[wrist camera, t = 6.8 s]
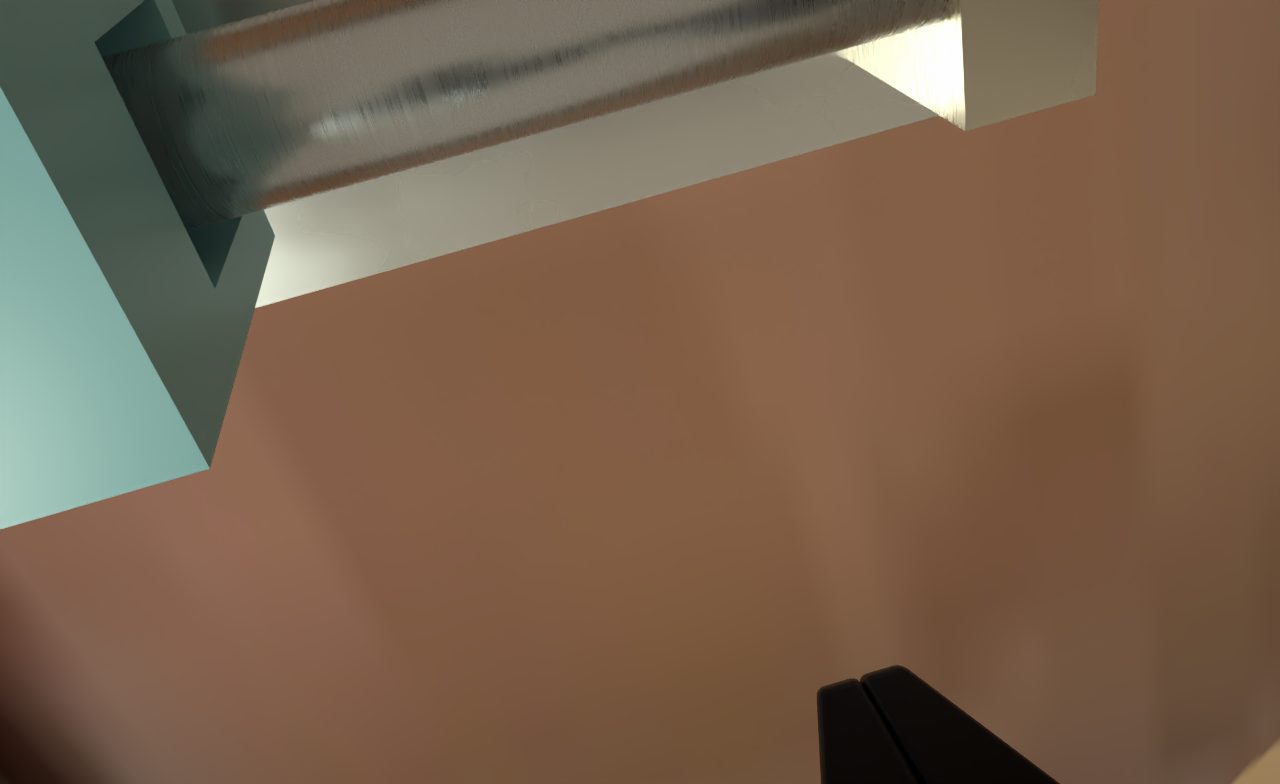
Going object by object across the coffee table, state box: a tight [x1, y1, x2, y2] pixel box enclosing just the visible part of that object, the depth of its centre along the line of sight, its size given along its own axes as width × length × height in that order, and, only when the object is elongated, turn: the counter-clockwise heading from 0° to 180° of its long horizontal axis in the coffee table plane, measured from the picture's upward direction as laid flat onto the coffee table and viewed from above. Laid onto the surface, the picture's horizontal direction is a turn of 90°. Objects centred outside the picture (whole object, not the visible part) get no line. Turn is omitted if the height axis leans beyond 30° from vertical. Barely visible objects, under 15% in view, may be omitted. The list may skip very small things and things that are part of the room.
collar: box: [0, 0, 275, 529], centre depth 13 cm, size 3×5×7 cm, turn 12°
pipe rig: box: [102, 0, 1098, 308], centre depth 15 cm, size 21×8×5 cm, turn 102°
